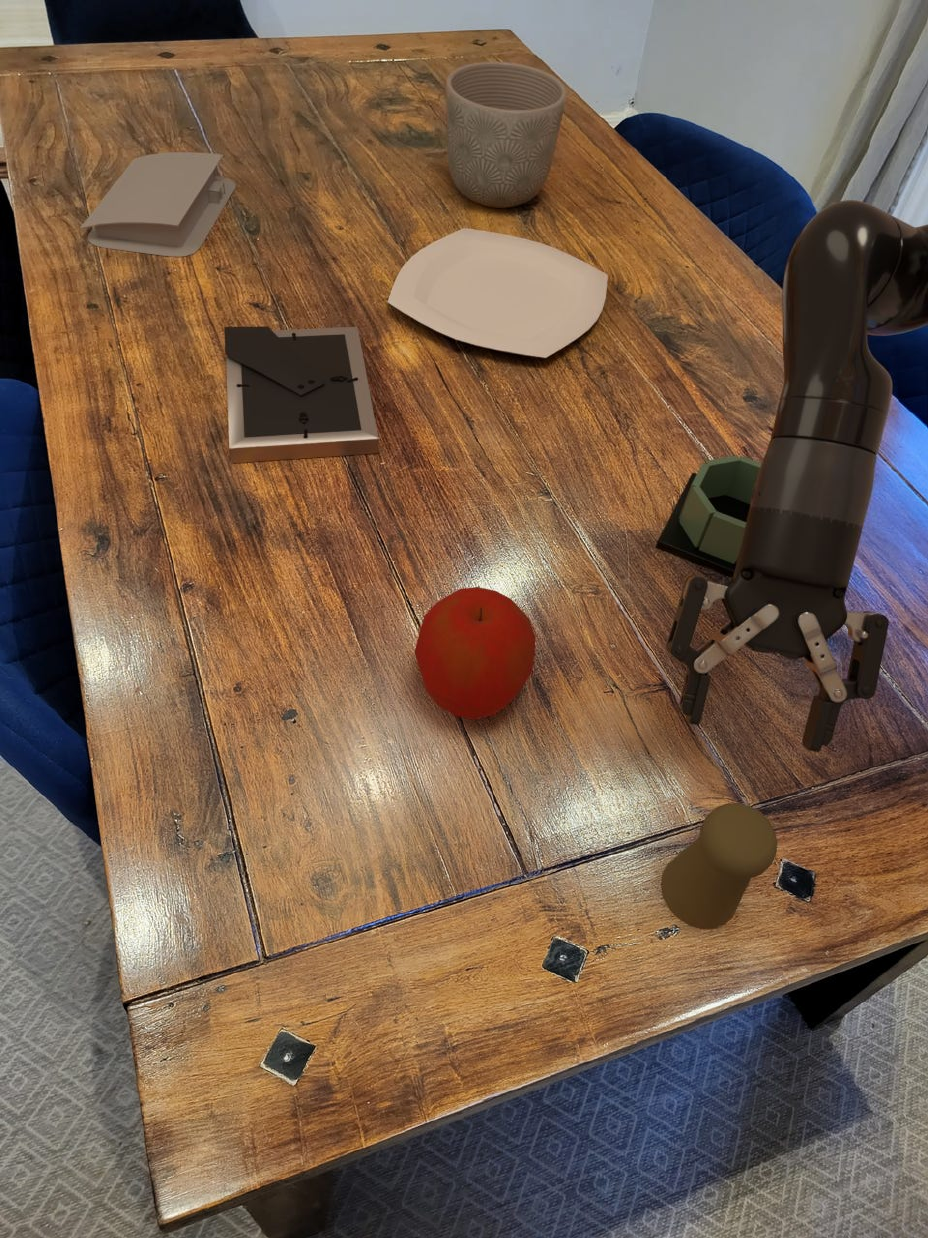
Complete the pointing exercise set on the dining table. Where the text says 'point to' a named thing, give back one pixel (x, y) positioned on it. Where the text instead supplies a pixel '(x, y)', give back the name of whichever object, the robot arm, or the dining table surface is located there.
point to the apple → (475, 652)
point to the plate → (500, 292)
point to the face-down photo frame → (297, 394)
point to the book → (161, 205)
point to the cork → (719, 865)
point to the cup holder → (712, 514)
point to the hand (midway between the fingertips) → (751, 735)
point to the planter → (502, 130)
